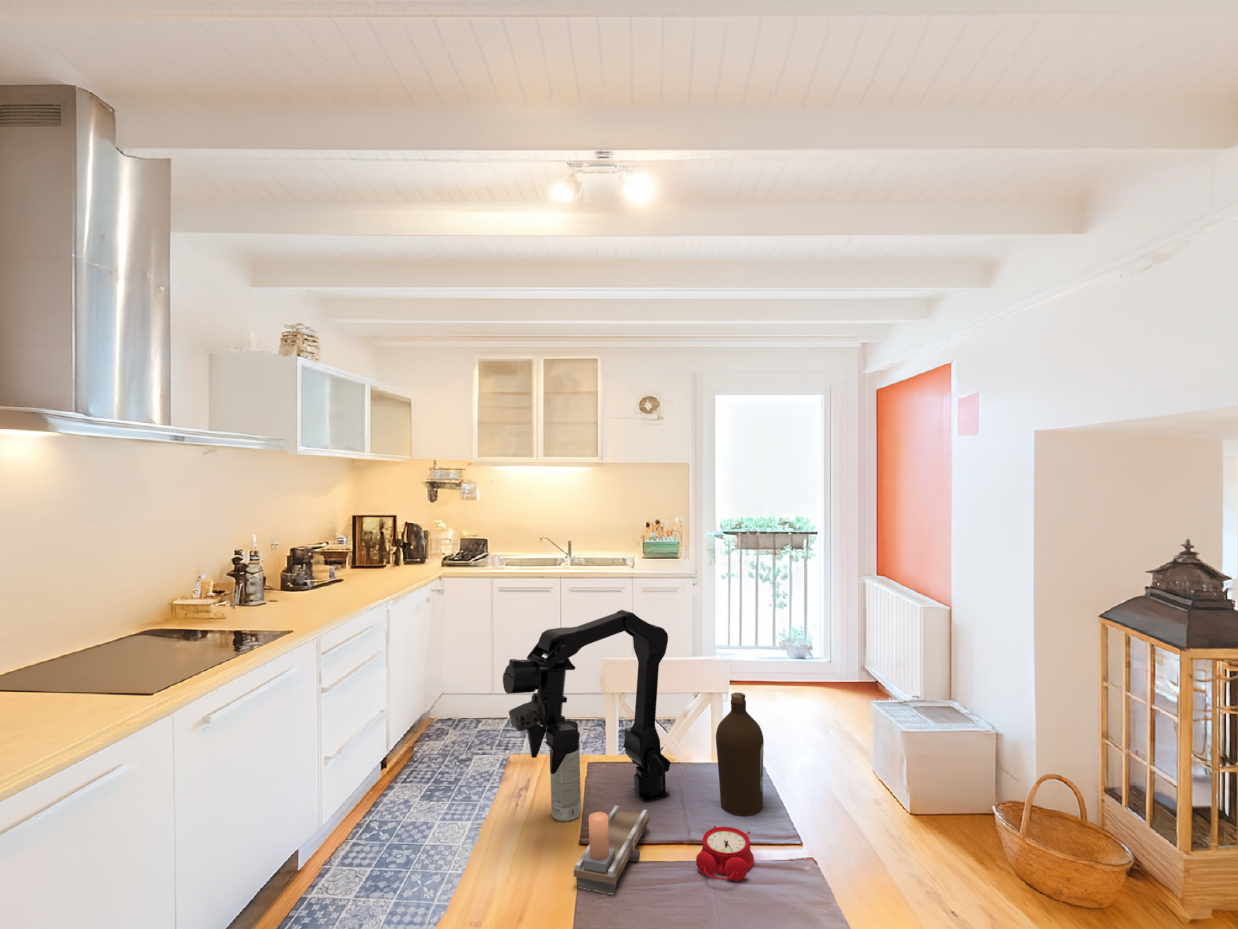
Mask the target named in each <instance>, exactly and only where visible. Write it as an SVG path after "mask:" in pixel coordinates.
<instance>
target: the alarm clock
mask: <svg viewBox="0 0 1238 929" xmlns="http://www.w3.org/2000/svg"><path fill="white" fill-rule="evenodd" d="M750 834H751V831H749V830H748V831H747V833H745V832H744V831H742V830H740V829H738V828H735V827H732V826H730V827H729V826H718V827H716V825H713V828H710V829H708V830H707V831H706V832H704V834H703V836H702V842H701V843H702V848H701V850H700V852H698V854H697V855H696V858H695V863H696V867H697V870H698V872H699V873H701V875H703V874H704V875H703V876H705V875H706V877H709V878H712V879H716V880H721V881H722V880H723V881H725V880H726V881H727V880H730V881H733V882H740V881H742V880H744V879H745V878H746V877H747V873H748V871H751V869H752V868H753V867H754V865H755V864H754V862H755V856H754V854H753V852H752V851H751V841H750V838H749V836H748V835H750ZM716 873H717V875H720V874H721V875H722V876H726V877H717V876H714V875H716ZM721 875H720V876H721Z"/></svg>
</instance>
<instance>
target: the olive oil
mask: <svg viewBox="0 0 1238 929" xmlns="http://www.w3.org/2000/svg"><path fill="white" fill-rule="evenodd" d="M730 698H731V700H730V709H731V710H730V711H729V713H728V714H727V715H725V717H724V718H722V720H721V721H720V722H719V724H718V726H717V727H716V728H717V729H716V733H715V744H716V755H717V758H716V759H717V767H718V768H717V770H718V781H719V782H718V784H719V799H720V807H721V808H722V809H723V810H724V811H725V812H727V813H728V814H732V815H734V816H741V817H748V816H753V815H756V814H758V813H760V812H761V811H762V809H763V807H764V792H763V791H764V747H765V746H764V745H765V744H764V743H765V742H764V734H763V731H762V728H761V726H760V725H759V723H758V722H757V721H756V720H755V719H754V718H753V717H752V716H751V715H750V714H749V713H748V712H747V701H746V694H745V693H743V692H732V693H731V694H730Z"/></svg>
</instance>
